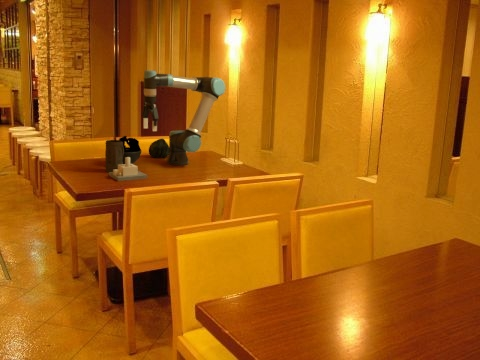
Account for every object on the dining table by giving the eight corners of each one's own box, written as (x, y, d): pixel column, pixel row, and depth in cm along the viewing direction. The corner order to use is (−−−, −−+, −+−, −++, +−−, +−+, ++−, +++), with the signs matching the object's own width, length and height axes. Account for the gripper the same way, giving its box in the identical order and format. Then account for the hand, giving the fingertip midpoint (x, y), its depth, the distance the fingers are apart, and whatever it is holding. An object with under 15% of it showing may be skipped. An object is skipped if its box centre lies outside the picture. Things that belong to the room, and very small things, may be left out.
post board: (136, 173, 312) (136, 154, 309) (147, 178, 299) (147, 158, 297) (108, 175, 302) (108, 156, 299) (118, 181, 289) (118, 161, 287)
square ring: (131, 171, 306) (131, 163, 305) (137, 174, 299) (137, 166, 298) (111, 173, 299) (111, 165, 298) (116, 176, 292) (116, 168, 291)
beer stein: (117, 173, 307) (118, 141, 304) (101, 172, 309) (102, 140, 306) (128, 170, 322) (128, 140, 319) (112, 169, 324) (113, 138, 321)
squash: (144, 148, 369) (150, 135, 359) (162, 148, 377) (169, 135, 367) (150, 163, 362) (157, 150, 352) (168, 162, 371) (175, 150, 361)
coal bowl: (135, 168, 325) (135, 140, 321) (106, 166, 327) (106, 138, 323) (145, 162, 344) (145, 135, 340) (117, 160, 347) (117, 134, 342)
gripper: (136, 94, 316) (136, 127, 321) (153, 97, 296) (152, 132, 301) (147, 94, 320) (147, 127, 325) (164, 97, 300) (164, 132, 305)
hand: (150, 129), depth 313 cm, fingers open, 13 cm apart
